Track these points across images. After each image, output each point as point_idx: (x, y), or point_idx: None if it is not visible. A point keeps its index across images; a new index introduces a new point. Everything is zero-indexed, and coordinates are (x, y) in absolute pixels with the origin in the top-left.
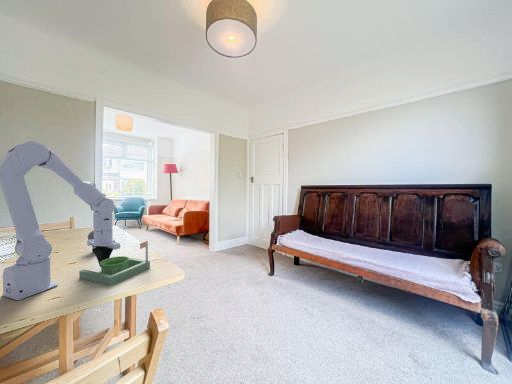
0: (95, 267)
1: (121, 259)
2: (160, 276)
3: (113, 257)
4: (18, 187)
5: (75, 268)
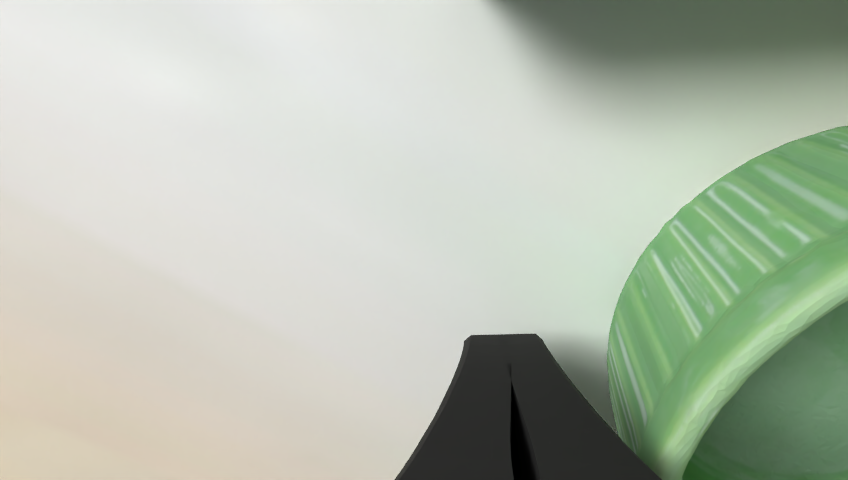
0: (235, 322)
1: None
2: None
3: (738, 386)
4: None
5: (9, 458)
